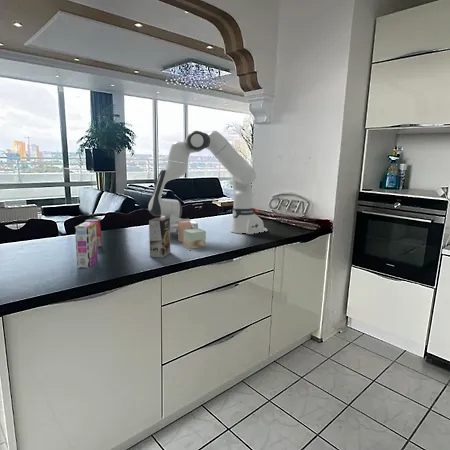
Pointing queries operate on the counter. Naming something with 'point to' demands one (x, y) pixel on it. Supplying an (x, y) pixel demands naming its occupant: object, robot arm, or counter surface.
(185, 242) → the oak slab
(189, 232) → the sage slab
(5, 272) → the counter surface
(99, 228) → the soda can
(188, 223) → the coral block
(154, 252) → the coffee box
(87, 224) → the candy bar box
